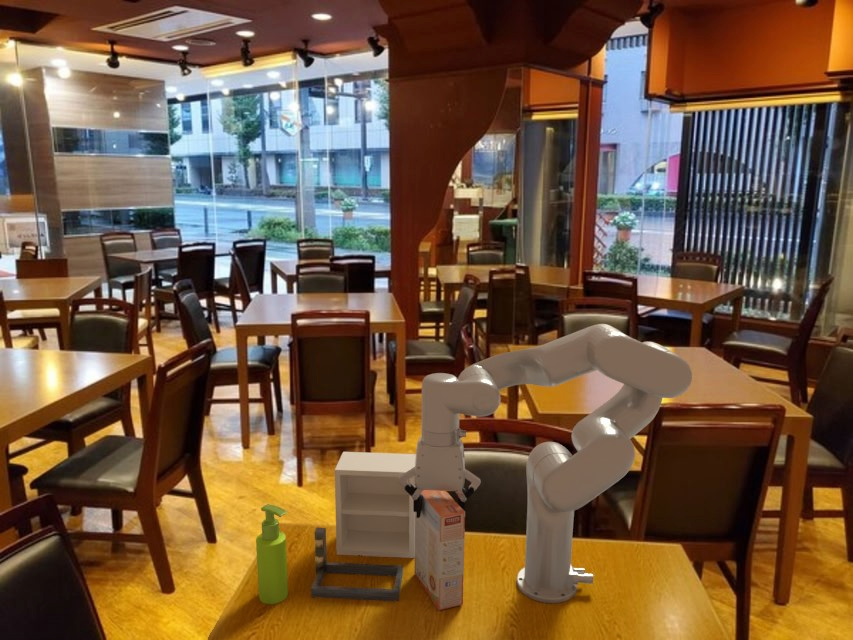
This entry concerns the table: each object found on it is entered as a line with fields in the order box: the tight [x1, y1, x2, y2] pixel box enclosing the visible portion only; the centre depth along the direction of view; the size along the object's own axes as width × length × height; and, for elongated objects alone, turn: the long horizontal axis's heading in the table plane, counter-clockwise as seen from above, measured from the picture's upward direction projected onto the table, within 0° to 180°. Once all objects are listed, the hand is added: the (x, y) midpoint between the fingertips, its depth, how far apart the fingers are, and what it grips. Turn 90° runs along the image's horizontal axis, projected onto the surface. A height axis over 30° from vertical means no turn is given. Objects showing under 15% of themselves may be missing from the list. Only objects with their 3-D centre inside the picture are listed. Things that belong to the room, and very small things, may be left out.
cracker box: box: [413, 490, 466, 611], centre depth 133 cm, size 14×6×21 cm, turn 21°
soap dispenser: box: [255, 503, 289, 605], centre depth 130 cm, size 6×7×20 cm
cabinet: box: [334, 451, 416, 559], centre depth 149 cm, size 18×10×21 cm, turn 86°
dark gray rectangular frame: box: [310, 526, 404, 602], centre depth 135 cm, size 19×10×10 cm, turn 86°
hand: (439, 515), depth 131 cm, fingers closed on cracker box, 7 cm apart
